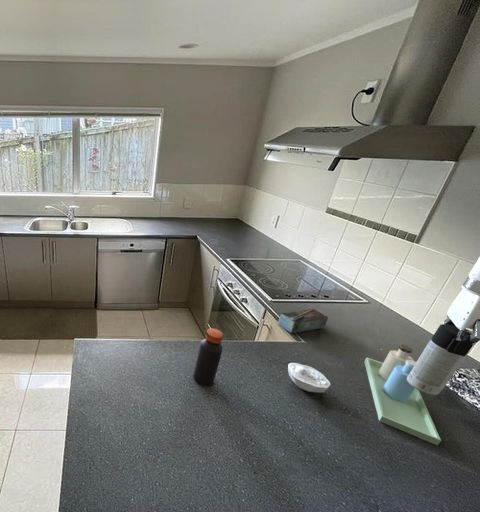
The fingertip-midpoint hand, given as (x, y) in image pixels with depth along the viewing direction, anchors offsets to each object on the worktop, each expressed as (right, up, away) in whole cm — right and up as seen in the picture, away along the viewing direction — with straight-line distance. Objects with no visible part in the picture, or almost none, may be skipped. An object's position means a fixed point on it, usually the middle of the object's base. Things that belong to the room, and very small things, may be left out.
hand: (449, 345), depth 75 cm
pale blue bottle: (+5, -23, +19) cm, 30 cm away
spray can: (-1, -14, +6) cm, 15 cm away
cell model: (-23, -21, +22) cm, 38 cm away
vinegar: (-58, -19, +23) cm, 65 cm away
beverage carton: (-1, -8, +54) cm, 54 cm away
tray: (+5, -23, +18) cm, 30 cm away
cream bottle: (+10, -20, +26) cm, 34 cm away
